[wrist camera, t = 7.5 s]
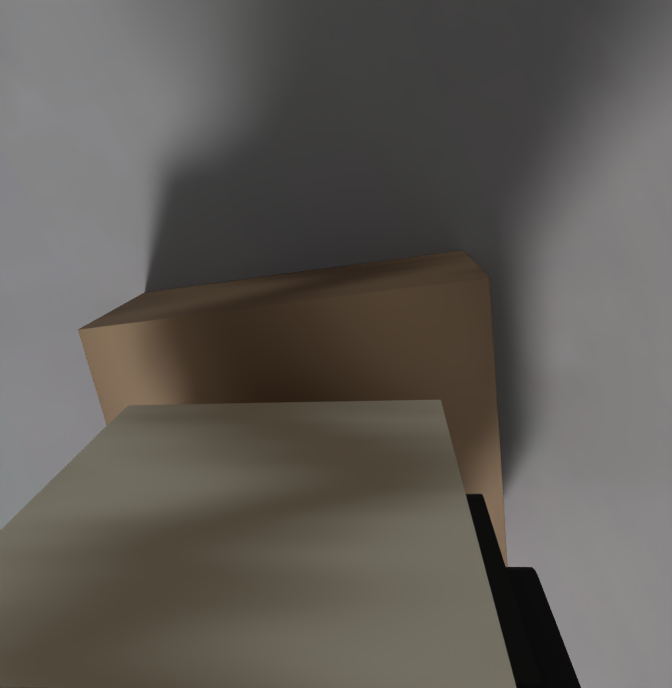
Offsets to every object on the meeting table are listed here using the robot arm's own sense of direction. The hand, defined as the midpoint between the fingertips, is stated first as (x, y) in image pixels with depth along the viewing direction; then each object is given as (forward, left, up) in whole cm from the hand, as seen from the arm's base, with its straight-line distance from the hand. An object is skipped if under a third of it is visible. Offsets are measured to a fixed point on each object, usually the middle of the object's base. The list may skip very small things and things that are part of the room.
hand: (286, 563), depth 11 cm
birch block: (0, 0, -1) cm, 1 cm away
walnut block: (0, 0, -7) cm, 7 cm away
